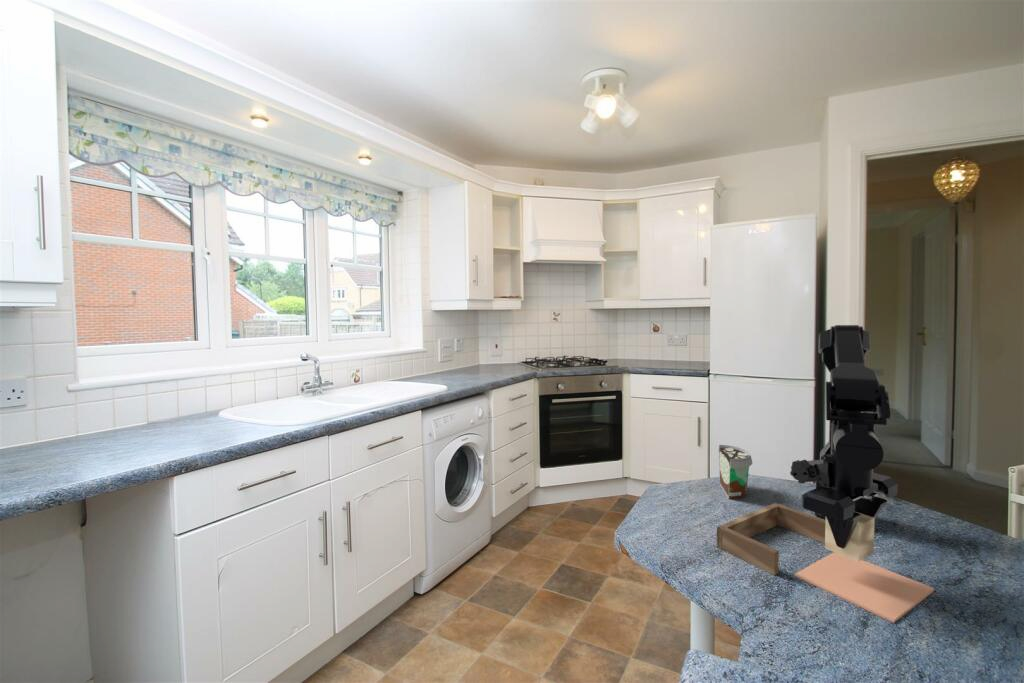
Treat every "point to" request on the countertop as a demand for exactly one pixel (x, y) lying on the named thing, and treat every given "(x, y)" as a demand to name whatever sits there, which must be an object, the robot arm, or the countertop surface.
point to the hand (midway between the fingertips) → (849, 542)
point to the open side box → (741, 529)
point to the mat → (866, 585)
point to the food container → (734, 470)
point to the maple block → (854, 539)
